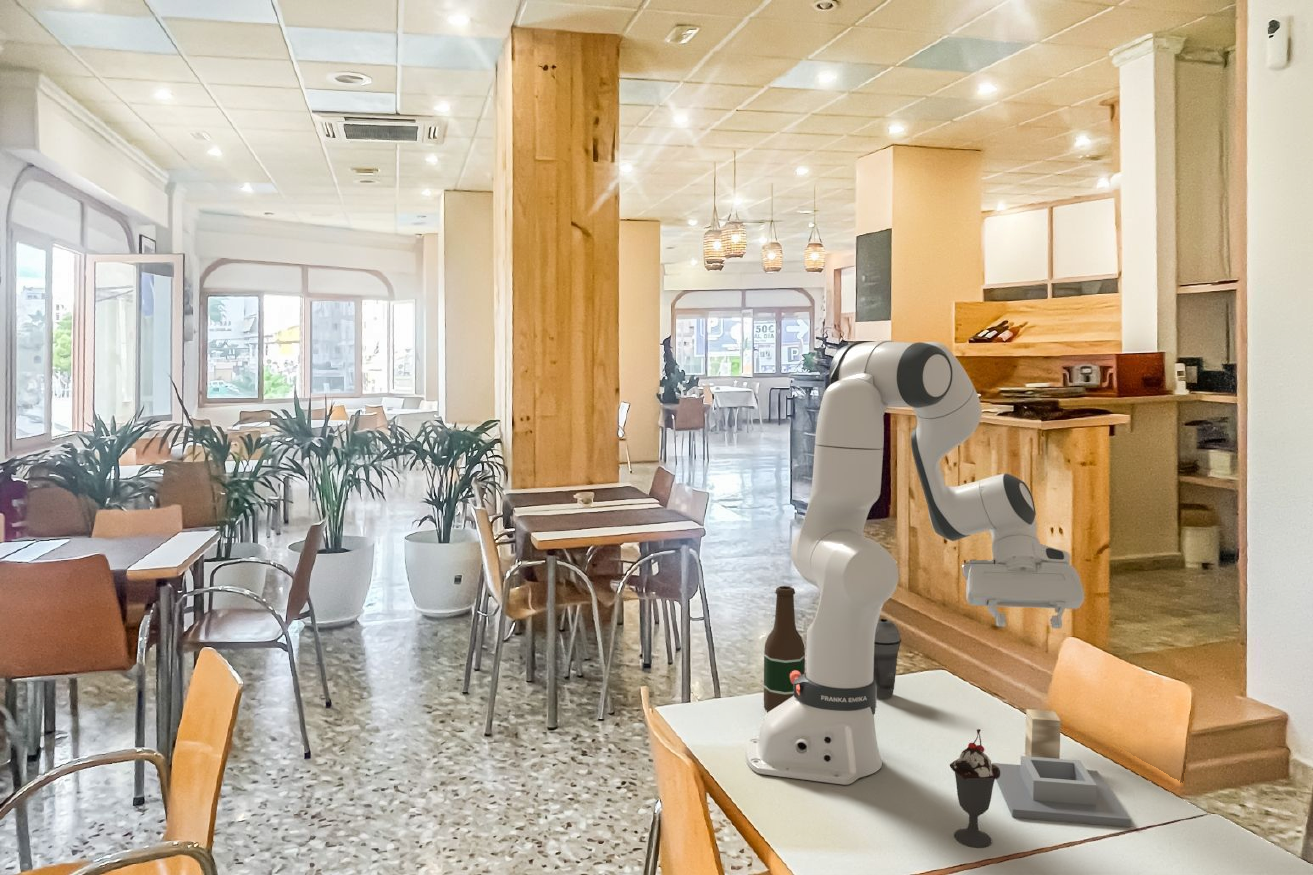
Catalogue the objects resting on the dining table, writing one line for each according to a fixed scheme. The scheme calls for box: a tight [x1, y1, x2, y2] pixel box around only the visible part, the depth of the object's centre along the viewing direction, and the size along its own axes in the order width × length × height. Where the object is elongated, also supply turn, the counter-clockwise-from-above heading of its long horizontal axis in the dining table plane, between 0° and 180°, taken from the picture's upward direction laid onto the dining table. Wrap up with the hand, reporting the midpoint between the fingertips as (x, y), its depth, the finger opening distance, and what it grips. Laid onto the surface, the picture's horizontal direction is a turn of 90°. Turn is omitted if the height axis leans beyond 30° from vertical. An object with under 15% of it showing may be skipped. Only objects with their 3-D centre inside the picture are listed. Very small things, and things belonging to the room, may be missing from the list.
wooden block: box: [1024, 708, 1062, 759], centre depth 150 cm, size 4×4×8 cm
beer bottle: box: [763, 585, 806, 713], centre depth 172 cm, size 8×8×24 cm
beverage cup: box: [873, 615, 902, 700], centre depth 181 cm, size 7×7×20 cm
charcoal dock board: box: [991, 755, 1132, 828], centre depth 138 cm, size 16×16×4 cm
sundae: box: [949, 728, 1000, 848], centre depth 125 cm, size 7×7×15 cm
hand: (1029, 625), depth 161 cm, fingers open, 8 cm apart
